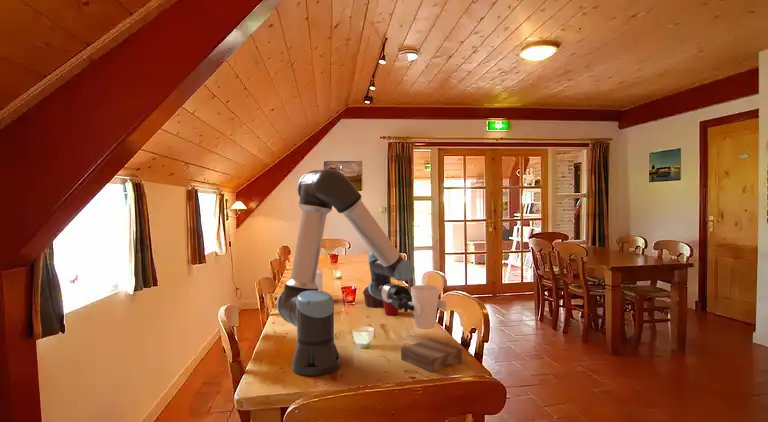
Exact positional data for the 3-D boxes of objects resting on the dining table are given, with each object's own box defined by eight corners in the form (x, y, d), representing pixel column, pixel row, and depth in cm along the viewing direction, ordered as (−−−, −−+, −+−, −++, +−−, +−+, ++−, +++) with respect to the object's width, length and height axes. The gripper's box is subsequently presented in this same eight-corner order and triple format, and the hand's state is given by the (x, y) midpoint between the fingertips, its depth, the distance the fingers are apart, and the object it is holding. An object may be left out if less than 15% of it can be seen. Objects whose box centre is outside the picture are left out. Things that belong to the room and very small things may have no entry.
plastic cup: (401, 317, 191) (401, 291, 191) (378, 317, 194) (377, 290, 193) (405, 311, 202) (405, 286, 202) (383, 310, 204) (382, 285, 204)
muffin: (388, 303, 218) (388, 283, 218) (383, 308, 207) (383, 288, 207) (366, 302, 221) (365, 283, 221) (360, 307, 210) (359, 287, 210)
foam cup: (443, 324, 146) (443, 286, 145) (432, 332, 138) (432, 292, 137) (418, 320, 151) (418, 284, 150) (406, 327, 143) (405, 289, 142)
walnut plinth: (431, 372, 131) (431, 359, 131) (401, 359, 142) (401, 347, 142) (461, 360, 140) (461, 348, 140) (430, 349, 151) (430, 338, 151)
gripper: (420, 300, 165) (459, 314, 146) (370, 309, 154) (405, 324, 135) (419, 281, 165) (458, 292, 146) (370, 288, 154) (405, 301, 134)
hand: (433, 307), depth 140 cm, fingers closed on foam cup, 9 cm apart
